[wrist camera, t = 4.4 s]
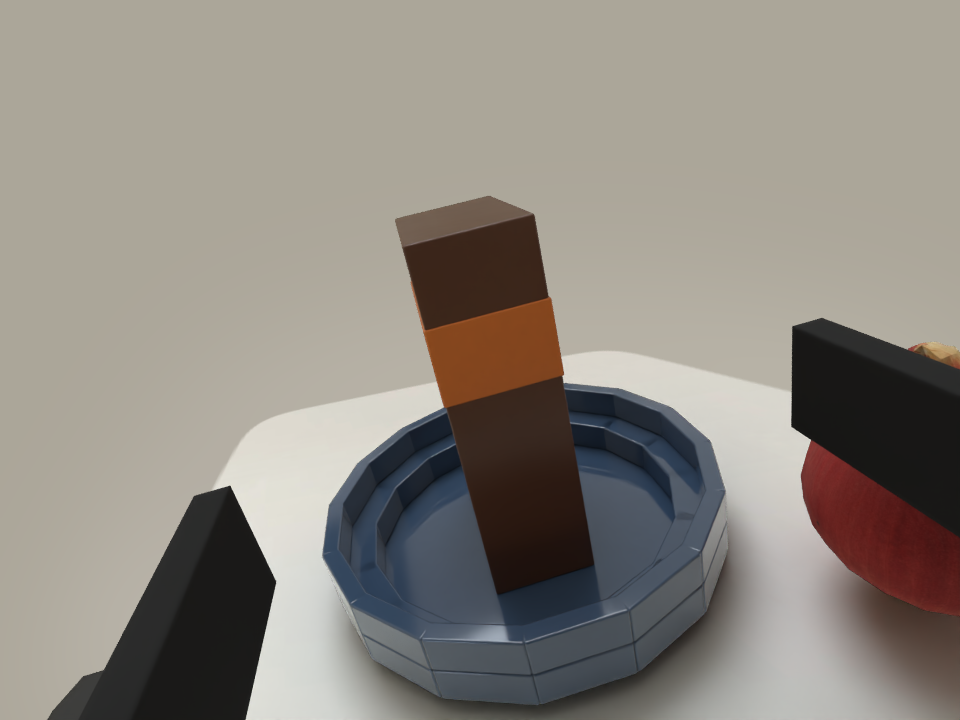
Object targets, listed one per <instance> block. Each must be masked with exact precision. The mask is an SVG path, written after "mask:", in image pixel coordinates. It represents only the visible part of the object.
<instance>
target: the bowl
mask: <svg viewBox="0 0 960 720" xmlns="http://www.w3.org/2000/svg"><path fill="white" fill-rule="evenodd" d="M564 389H565V395H566V401H567V406H568V412H569V418H570V424H571V430H572V435H573V441H574V447H575V453H576V459H577V464H578V470H579V476H580V482H581V488H582V493H583V499H584V505H585V511H586V517H587V522H588V528H589V534H590V540H591V545H592V551H593V557H594V565H592V566H589V567H585V568H582V569H579V570H576V571H573V572H569V573H566V574H563V575H560V576H556V577H553V578H550V579H547V580H544V581H540V582H537V583H534V584H531V585H527V586H524V587H521V588H518V589H514V590H511V591H508V592H505V593H502V594H497V593H496V590H495V586H494V583H493V579H492V575H491V572H490V568H489V564H488V561H487V557H486V553H485V550H484V546H483V542H482V539H481V535H480V531H479V528H478V524H477V520H476V517H475V513H474V509H473V506H472V502H471V498H470V495H469V491H468V487H467V483H466V480H465V476H464V472H463V469H462V465H461V461H460V458H459V454H458V450H457V447H456V443H455V439H454V436H453V432H452V428H451V425H450V421H449V417H448V414H447V410H446V408H445V407H444V408H442V409H440V410H438V411H436V412H434V413H432V414H430V415H428V416H426V417H424V418H422V419H420V420H418V421H416V422H414V423H411V424H409V425H407V426H405V427H403V428H402V429H400V430H399V431H397V432H396V433H395V434H394V435H392V436H391V437H390V438H389V439H387V440H386V441H385V442H384V443H382V444H381V445H380V446H379V447H377V448H376V449H375V450H374V451H372V452H371V453H370V454H369V455H367V456H366V457H365V458H363V459H362V460H361V461H360V462H359V463H357V465H356V466H355V468H354V469H353V471H352V472H351V474H350V475H349V477H348V478H347V480H346V481H345V483H344V484H343V485H342V487H341V488H340V490H339V491H338V493H337V494H336V496H335V497H334V499H333V500H332V502H331V503H330V505H329V509H328V516H327V524H326V531H325V539H324V546H323V554H322V556H323V560H324V563H325V565H326V567H327V570H328V572H329V574H330V577H331V579H332V581H333V583H334V586H335V588H336V591H337V593H338V595H339V598H340V600H341V602H342V605H343V607H344V609H345V611H346V613H347V614H348V616H349V618H350V620H351V622H352V624H353V625H354V627H355V629H356V631H357V633H358V635H359V636H360V638H361V640H362V642H363V644H364V646H365V647H366V649H367V651H368V653H369V655H370V657H371V658H372V659H373V660H374V661H376V662H378V663H380V664H381V665H383V666H385V667H387V668H389V669H390V670H392V671H394V672H396V673H397V674H399V675H401V676H403V677H404V678H406V679H408V680H410V681H411V682H413V683H415V684H417V685H419V686H420V687H422V688H424V689H426V690H427V691H429V692H431V693H433V694H434V695H436V696H438V697H440V698H441V697H442V698H444V699H454V700H469V701H483V702H498V703H512V704H527V705H539V703H540V704H545V703H548V702H551V701H555V700H558V699H561V698H564V697H567V696H570V695H573V694H576V693H579V692H582V691H585V690H588V689H591V688H594V687H597V686H600V685H603V684H606V683H609V682H612V681H615V680H618V679H621V678H624V677H627V676H630V675H633V674H636V673H637V672H638V671H641V670H642V669H644V668H645V667H646V666H647V665H648V664H649V663H650V662H651V661H653V660H654V659H655V658H656V657H657V656H658V655H659V654H660V653H661V652H663V651H664V650H665V649H666V648H667V647H668V646H669V645H670V644H672V643H673V642H674V641H675V640H676V639H677V638H678V637H679V636H681V635H682V634H683V633H684V632H685V631H686V630H687V629H688V628H690V627H691V626H692V625H693V624H694V623H695V622H696V621H697V620H699V619H700V618H701V617H702V616H703V615H704V613H706V612H707V609H708V606H709V603H710V600H711V597H712V595H713V592H714V589H715V586H716V583H717V580H718V577H719V574H720V571H721V568H722V566H723V563H724V560H725V557H726V554H727V551H728V529H727V509H726V490H725V487H724V484H723V480H722V477H721V474H720V470H719V467H718V464H717V460H716V457H715V453H714V450H713V447H712V443H711V442H710V440H709V439H708V438H706V437H705V436H704V435H703V434H702V433H701V432H699V431H698V430H697V429H696V428H695V427H694V426H693V425H691V424H690V423H689V422H688V421H687V420H686V419H685V418H683V417H682V416H681V415H680V414H679V413H678V412H677V411H675V410H674V409H673V408H671V407H669V406H667V405H664V404H661V403H658V402H656V401H653V400H650V399H647V398H645V397H642V396H639V395H636V394H634V393H631V392H628V391H625V390H623V389H619V388H609V387H599V386H589V385H579V384H569V383H564Z"/></svg>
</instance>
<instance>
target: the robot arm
mask: <svg viewBox="0 0 960 720" xmlns="http://www.w3.org/2000/svg"><path fill="white" fill-rule="evenodd" d="M791 427H792V428H794V429H795V430H797V431H799V432H800V433H802V434H803V435H805V436H806V437H808V438H809V439H811V440H812V441H814V442H815V443H817V444H818V445H820V446H821V447H823V448H824V449H826V450H827V451H829V452H830V453H832V454H833V455H835V456H836V457H838V458H839V459H841V460H842V461H844V462H846V463H847V464H849V465H850V466H852V467H853V468H855V469H856V470H858V471H859V472H861V473H862V474H864V475H865V476H867V477H868V478H870V479H871V480H873V481H874V482H876V483H877V484H879V485H880V486H882V487H883V488H885V489H886V490H888V491H889V492H891V493H893V494H894V495H896V496H897V497H899V498H900V499H902V500H903V501H905V502H906V503H908V504H909V505H911V506H912V507H914V508H915V509H917V510H918V511H920V512H921V513H923V514H924V515H926V516H927V517H929V518H930V519H932V520H933V521H935V522H936V523H938V524H940V525H941V526H943V527H944V528H946V529H947V530H949V531H950V532H952V533H953V534H955V535H956V536H958V537H959V538H960V369H958V368H955V367H952V366H950V365H947V364H944V363H942V362H939V361H936V360H934V359H931V358H928V357H926V356H923V355H920V354H918V353H915V352H912V351H909V350H907V349H904V348H901V347H899V346H896V345H893V344H890V343H888V342H885V341H883V340H880V339H877V338H875V337H872V336H869V335H867V334H864V333H861V332H858V331H856V330H853V329H850V328H848V327H845V326H842V325H839V324H837V323H834V322H832V321H828V320H826V319H824V318H820V319H817V320H813V321H810V322H806V323H803V324H799V325H796V326H793V327H792V416H791ZM275 585H276V580H275V578H274V576H273V574H272V572H271V570H270V568H269V566H268V564H267V561H266V559H265V557H264V555H263V553H262V551H261V549H260V547H259V545H258V543H257V541H256V538H255V536H254V534H253V532H252V530H251V528H250V526H249V524H248V522H247V520H246V518H245V515H244V513H243V511H242V509H241V507H240V505H239V503H238V501H237V499H236V497H235V495H234V493H233V490H232V488H231V486H228V487H224V488H220V489H217V490H213V491H210V492H207V493H203V494H199V495H196V496H194V497H193V499H192V501H191V503H190V505H189V507H188V509H187V510H186V513H185V514H184V517H183V518H182V520H181V522H180V524H179V526H178V528H177V530H176V532H175V534H174V536H173V538H172V540H171V541H170V543H169V546H168V547H167V549H166V551H165V553H164V555H163V557H162V559H161V561H160V563H159V565H158V567H157V569H156V570H155V572H154V574H153V576H152V578H151V580H150V582H149V584H148V586H147V588H146V590H145V592H144V594H143V596H142V598H141V600H140V601H139V603H138V605H137V607H136V609H135V611H134V613H133V615H132V617H131V619H130V621H129V623H128V625H127V627H126V628H125V630H124V632H123V634H122V636H121V638H120V640H119V642H118V644H117V646H116V648H115V650H114V652H113V654H112V655H111V658H110V660H109V662H108V663H107V665H106V667H105V669H104V670H103V671H100V672H96V673H93V674H90V675H87V676H83V677H82V678H81V680H80V681H79V682H78V683H77V684H76V685H75V686H74V687H73V689H72V690H71V691H70V692H69V693H68V694H67V695H66V696H65V698H64V699H63V700H62V701H61V702H60V703H59V704H58V705H57V707H56V708H55V709H54V710H53V711H52V713H51V715H50V716H49V718H48V720H246V715H247V711H248V706H249V702H250V697H251V693H252V688H253V684H254V679H255V675H256V670H257V666H258V661H259V657H260V653H261V648H262V644H263V639H264V635H265V630H266V626H267V621H268V617H269V612H270V608H271V603H272V599H273V594H274V590H275Z"/></svg>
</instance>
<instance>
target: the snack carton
mask: <svg viewBox="0 0 960 720" xmlns="http://www.w3.org/2000/svg"><path fill="white" fill-rule="evenodd" d="M395 222H396V226H397V229H398V233H399V237H400V241H401V244H402V248H403V252H404V256H405V259H406V263H407V267H408V270H409V274H410V277H411V286H412V290H413V294H414V298H415V302H416V306H417V309H418V313H419V317H420V321H421V325H422V329H423V333H424V336H425V340H426V343H427V347H428V351H429V354H430V358H431V362H432V365H433V369H434V373H435V376H436V380H437V384H438V387H439V391H440V395H441V398H442V402H443V406H444V407H445V408H446V410H447V414H448V417H449V421H450V425H451V428H452V432H453V436H454V439H455V443H456V447H457V450H458V454H459V458H460V461H461V465H462V469H463V472H464V476H465V480H466V483H467V487H468V491H469V495H470V498H471V502H472V506H473V509H474V513H475V517H476V520H477V524H478V528H479V531H480V535H481V539H482V542H483V546H484V550H485V553H486V557H487V561H488V564H489V568H490V572H491V575H492V579H493V583H494V586H495V590H496V593H497V594H502V593H505V592H508V591H511V590H514V589H518V588H521V587H524V586H527V585H531V584H534V583H537V582H540V581H544V580H547V579H550V578H553V577H556V576H560V575H563V574H566V573H569V572H573V571H576V570H579V569H582V568H585V567H589V566H592V565H594V557H593V551H592V545H591V540H590V534H589V528H588V522H587V517H586V511H585V505H584V499H583V493H582V488H581V482H580V476H579V470H578V464H577V459H576V453H575V447H574V441H573V435H572V430H571V424H570V418H569V412H568V406H567V401H566V395H565V389H564V383H563V377H562V376H563V375H564V371H563V365H562V359H561V353H560V347H559V342H558V336H557V330H556V324H555V319H554V312H553V306H552V300H551V298H550V297H549V296H548V292H547V285H546V279H545V273H544V267H543V262H542V256H541V250H540V244H539V239H538V233H537V227H536V221H535V216H534V214H533V213H530V212H528V211H525V210H523V209H521V208H518V207H516V206H513V205H511V204H508V203H506V202H503V201H501V200H498V199H496V198H493V197H491V196H486V197H482V198H478V199H474V200H470V201H466V202H462V203H457V204H454V205H449V206H445V207H441V208H437V209H433V210H429V211H425V212H421V213H417V214H413V215H409V216H405V217H401V218H397V219H395Z"/></svg>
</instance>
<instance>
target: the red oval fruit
mask: <svg viewBox="0 0 960 720" xmlns="http://www.w3.org/2000/svg"><path fill="white" fill-rule="evenodd" d="M908 350H909V351H912V352H915V353H918V354H920V355H923V356H926V357H928V358H931V359H934V360H936V361H939V362H942V363H944V364H947V365H950V366H952V367H955V368H958V369H960V352H959V351H958V350H957V349H956V347H953V346H946V345H943V344H941V343H938V342H928V343H921V344H918V345H915V346H913V347H911V348H909V349H908ZM801 482H802V490H803V499H804V502H805V505H806V507H807V510H808V513H809V516H810V519H811V522H812V525H813V526H814V528H815V529H816V530H817V532H818V533H819V535H820V536H821V538H822V539H823V541H824V542H825V543H826V545H827V546H828V547H829V548H830V549H831V550H832V551H833V552H834V553H835V554H836V556H837V557H838V558H839V559H840V560H841V561H842V562H843V563H844V564H845V566H846V567H847V568H848V569H849V570H851V571H852V572H854V573H855V574H857V575H858V576H860V577H861V578H863V579H864V580H866V581H867V582H869V583H870V584H872V585H873V586H875V587H876V588H878V589H879V590H881V591H883V592H884V593H886V594H888V595H891V596H894V597H896V598H898V599H900V600H902V601H905V602H907V603H909V604H911V605H913V606H915V607H918V608H920V609H922V610H925V611H931V612H937V613H942V614H948V615H954V616H960V538H959V537H958V536H956V535H955V534H953V533H952V532H950V531H949V530H947V529H946V528H944V527H943V526H941V525H940V524H938V523H936V522H935V521H933V520H932V519H930V518H929V517H927V516H926V515H924V514H923V513H921V512H920V511H918V510H917V509H915V508H914V507H912V506H911V505H909V504H908V503H906V502H905V501H903V500H902V499H900V498H899V497H897V496H896V495H894V494H893V493H891V492H889V491H888V490H886V489H885V488H883V487H882V486H880V485H879V484H877V483H876V482H874V481H873V480H871V479H870V478H868V477H867V476H865V475H864V474H862V473H861V472H859V471H858V470H856V469H855V468H853V467H852V466H850V465H849V464H847V463H846V462H844V461H842V460H841V459H839V458H838V457H836V456H835V455H833V454H832V453H830V452H829V451H827V450H826V449H824V448H823V447H821V446H820V445H818V444H817V443H815V442H814V441H812V440H811V442H810V445H809V448H808V451H807V454H806V458H805V461H804V465H803V469H802V472H801Z"/></svg>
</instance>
